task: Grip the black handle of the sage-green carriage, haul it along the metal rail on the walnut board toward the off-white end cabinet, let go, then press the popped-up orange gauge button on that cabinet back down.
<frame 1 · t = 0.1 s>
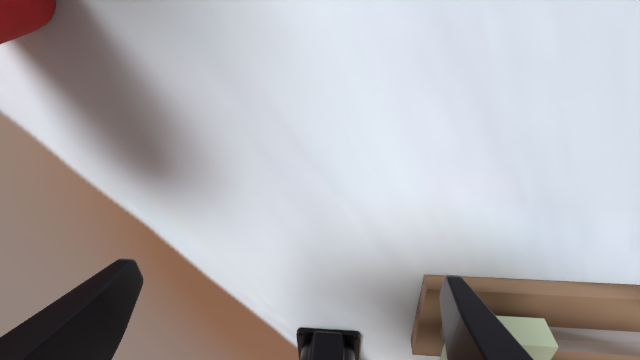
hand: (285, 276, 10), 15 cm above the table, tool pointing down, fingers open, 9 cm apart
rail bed: (578, 319, 32), on the table
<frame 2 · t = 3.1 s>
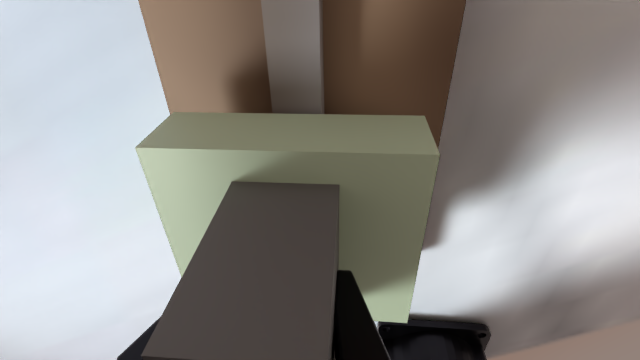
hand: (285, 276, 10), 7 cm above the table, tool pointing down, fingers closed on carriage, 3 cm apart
carriage: (284, 281, 10), point 7 cm above the table, slide at 0.0 cm, touching gripper
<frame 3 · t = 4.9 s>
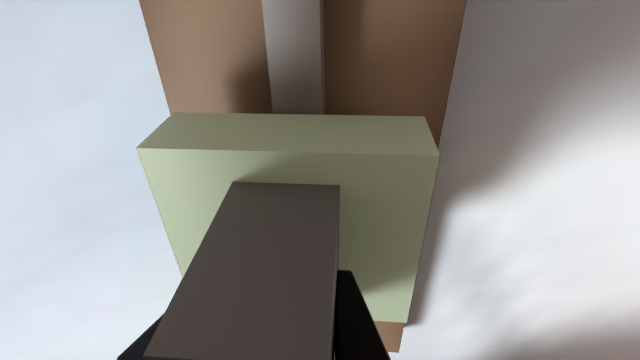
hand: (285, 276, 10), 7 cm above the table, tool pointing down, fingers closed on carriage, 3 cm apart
carriage: (284, 281, 10), point 7 cm above the table, slide at 6.7 cm, touching gripper
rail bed: (307, 110, 14), on the table
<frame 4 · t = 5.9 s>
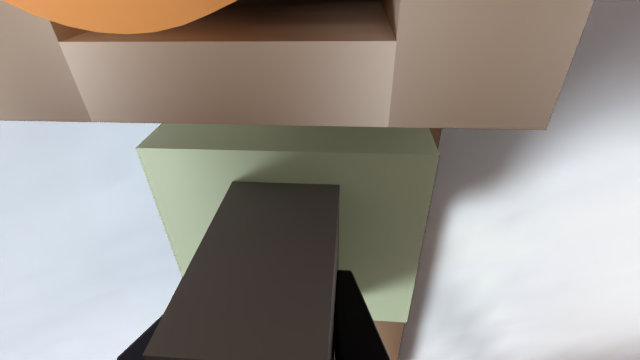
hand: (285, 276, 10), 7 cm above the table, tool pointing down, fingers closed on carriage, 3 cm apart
carriage: (284, 280, 10), point 7 cm above the table, slide at 10.8 cm, touching gripper
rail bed: (311, 192, 17), on the table
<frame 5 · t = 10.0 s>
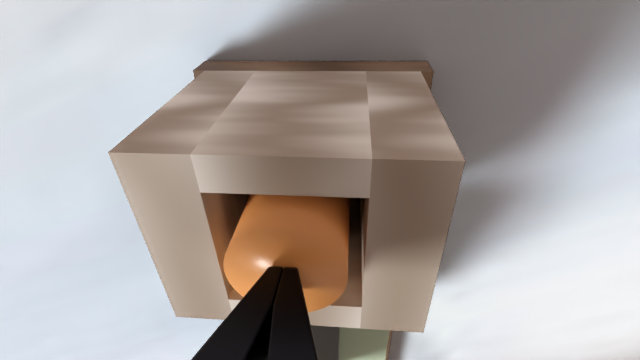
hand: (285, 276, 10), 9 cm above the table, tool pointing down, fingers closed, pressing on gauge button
carriage: (308, 358, 17), point 7 cm above the table, slide at 10.9 cm
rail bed: (320, 277, 24), on the table
gauge button: (297, 218, 12), point 7 cm above the table, slide at 1.3 cm, touching gripper
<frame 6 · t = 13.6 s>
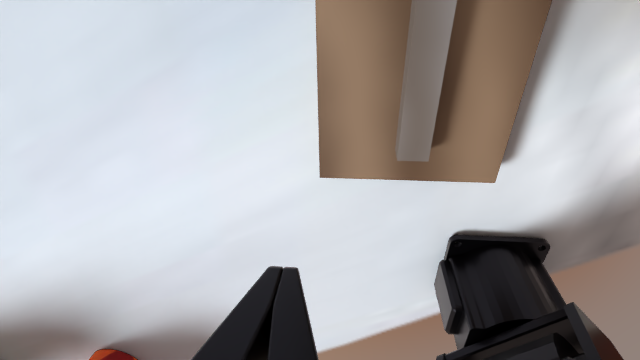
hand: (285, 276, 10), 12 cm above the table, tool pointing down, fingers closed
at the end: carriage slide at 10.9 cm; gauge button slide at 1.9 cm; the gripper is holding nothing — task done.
